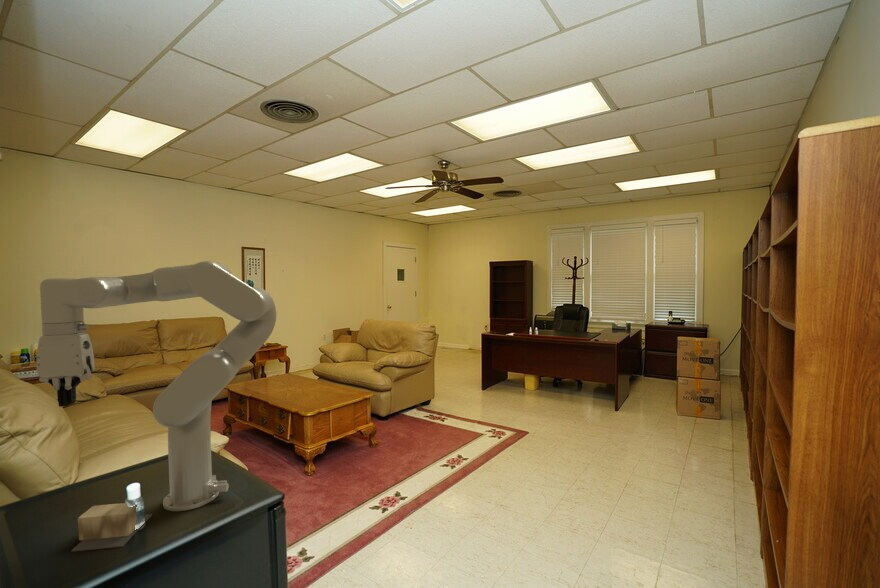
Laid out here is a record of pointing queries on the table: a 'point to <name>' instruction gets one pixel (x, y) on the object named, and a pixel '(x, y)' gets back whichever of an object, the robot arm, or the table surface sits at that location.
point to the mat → (105, 541)
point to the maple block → (107, 521)
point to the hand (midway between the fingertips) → (67, 404)
